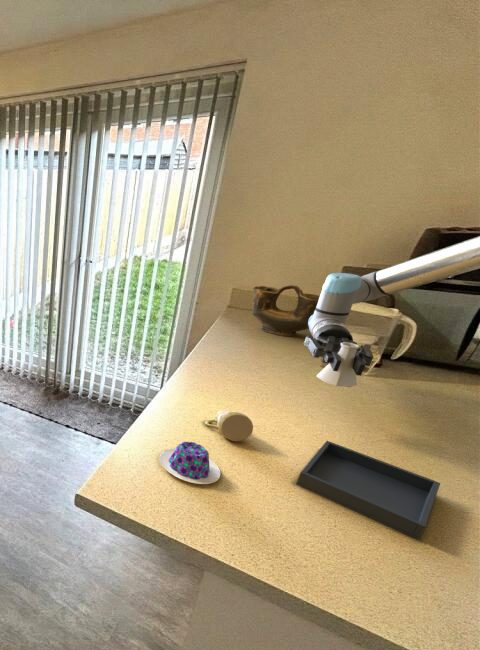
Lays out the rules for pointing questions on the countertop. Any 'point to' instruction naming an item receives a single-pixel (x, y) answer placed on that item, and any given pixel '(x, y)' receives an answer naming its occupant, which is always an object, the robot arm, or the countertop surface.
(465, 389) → the countertop surface
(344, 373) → the flask
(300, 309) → the pottery vessel
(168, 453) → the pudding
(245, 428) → the mug
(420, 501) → the tray
